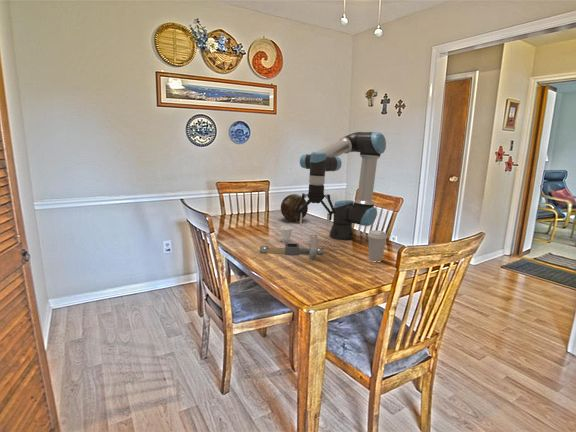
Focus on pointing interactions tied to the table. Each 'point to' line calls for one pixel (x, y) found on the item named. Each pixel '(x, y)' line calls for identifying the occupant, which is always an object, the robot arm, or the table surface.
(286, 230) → the cup
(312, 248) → the link pin
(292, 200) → the decorative sphere
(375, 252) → the coffee cup
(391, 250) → the table surface
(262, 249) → the grey knobbed bar
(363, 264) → the table surface
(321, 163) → the robot arm
